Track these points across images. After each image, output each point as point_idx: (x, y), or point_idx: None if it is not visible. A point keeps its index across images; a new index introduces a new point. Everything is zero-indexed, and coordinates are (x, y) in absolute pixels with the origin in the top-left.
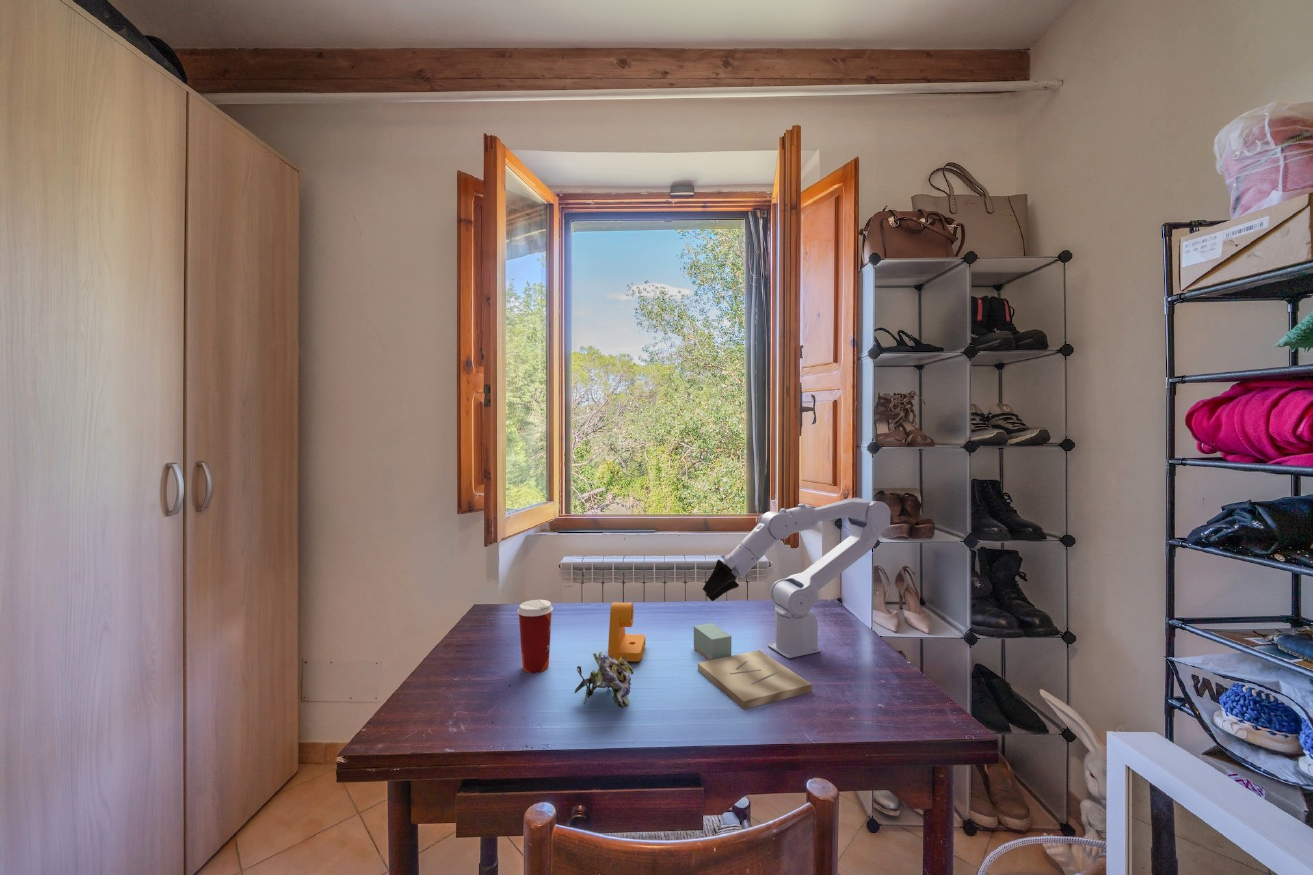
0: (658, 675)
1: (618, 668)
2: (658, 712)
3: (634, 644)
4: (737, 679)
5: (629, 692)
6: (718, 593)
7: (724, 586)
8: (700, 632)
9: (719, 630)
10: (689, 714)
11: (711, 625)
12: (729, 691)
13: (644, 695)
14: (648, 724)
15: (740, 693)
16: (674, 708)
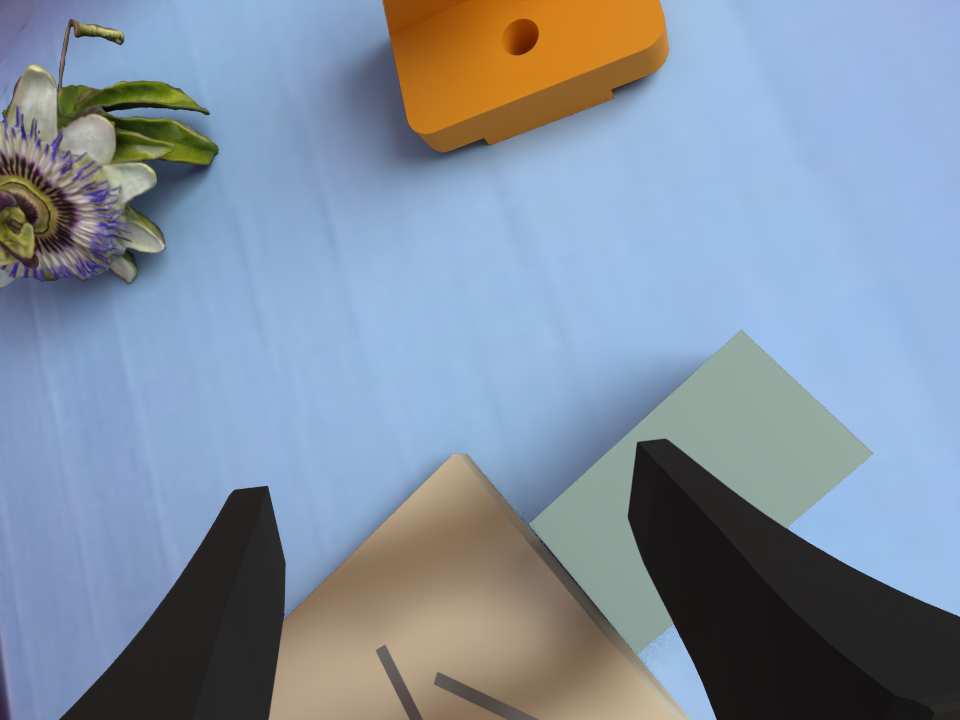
0: (361, 291)
1: (41, 194)
2: (115, 402)
3: (507, 57)
4: (336, 692)
5: (86, 277)
6: (678, 599)
7: (738, 703)
8: (656, 408)
9: None
10: (124, 514)
11: (808, 462)
12: None
13: (201, 306)
14: (52, 396)
15: None
16: (147, 449)
